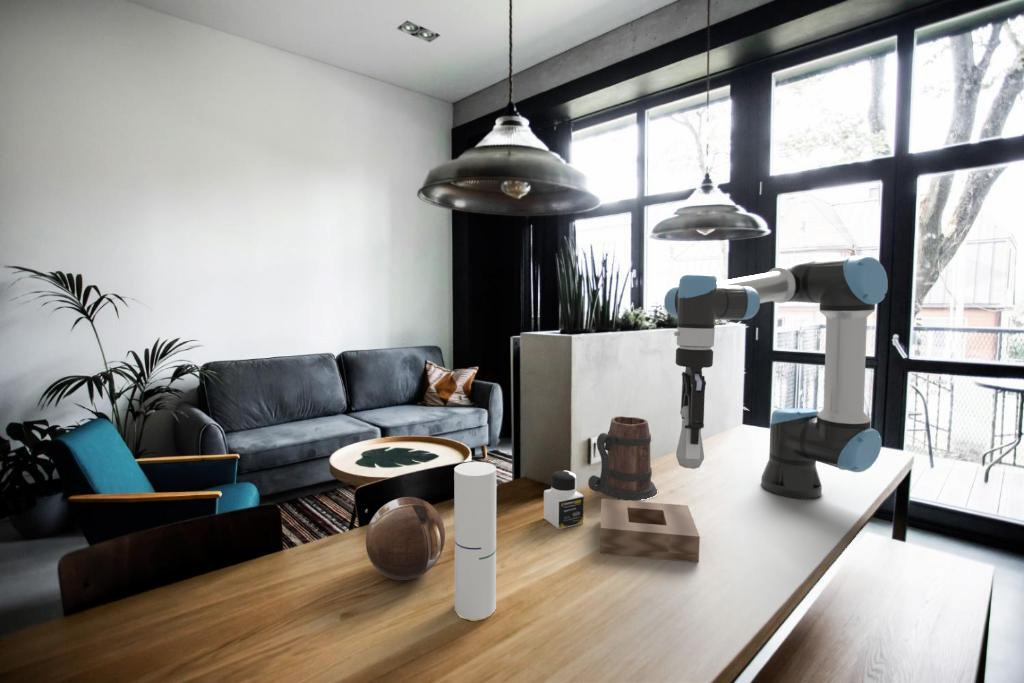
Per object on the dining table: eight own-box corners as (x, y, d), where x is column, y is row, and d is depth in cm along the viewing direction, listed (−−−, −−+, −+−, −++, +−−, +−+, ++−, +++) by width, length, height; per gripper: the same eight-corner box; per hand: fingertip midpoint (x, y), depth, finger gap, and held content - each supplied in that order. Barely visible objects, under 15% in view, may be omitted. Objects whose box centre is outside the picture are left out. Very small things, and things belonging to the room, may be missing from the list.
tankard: (623, 474, 156) (625, 410, 154) (671, 491, 143) (673, 421, 141) (568, 492, 142) (569, 421, 140) (615, 512, 129) (617, 435, 127)
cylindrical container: (455, 597, 92) (454, 462, 90) (494, 595, 92) (495, 461, 90) (454, 622, 85) (453, 476, 82) (497, 620, 85) (497, 475, 83)
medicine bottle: (558, 530, 119) (559, 480, 118) (543, 518, 125) (543, 470, 124) (583, 523, 122) (584, 475, 121) (567, 512, 128) (568, 466, 127)
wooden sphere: (354, 570, 101) (353, 496, 99) (423, 548, 110) (422, 480, 108) (385, 606, 89) (384, 524, 87) (459, 578, 98) (459, 503, 97)
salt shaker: (699, 462, 113) (702, 404, 112) (707, 470, 108) (710, 410, 106) (672, 461, 114) (675, 403, 113) (678, 469, 108) (681, 409, 107)
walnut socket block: (686, 527, 120) (687, 505, 120) (698, 562, 104) (699, 536, 104) (600, 520, 124) (601, 498, 123) (599, 552, 108) (600, 527, 108)
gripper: (670, 343, 118) (666, 441, 120) (683, 351, 100) (678, 466, 102) (704, 344, 117) (699, 443, 119) (723, 352, 99) (718, 469, 101)
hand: (689, 453), depth 110 cm, fingers closed on salt shaker, 6 cm apart
